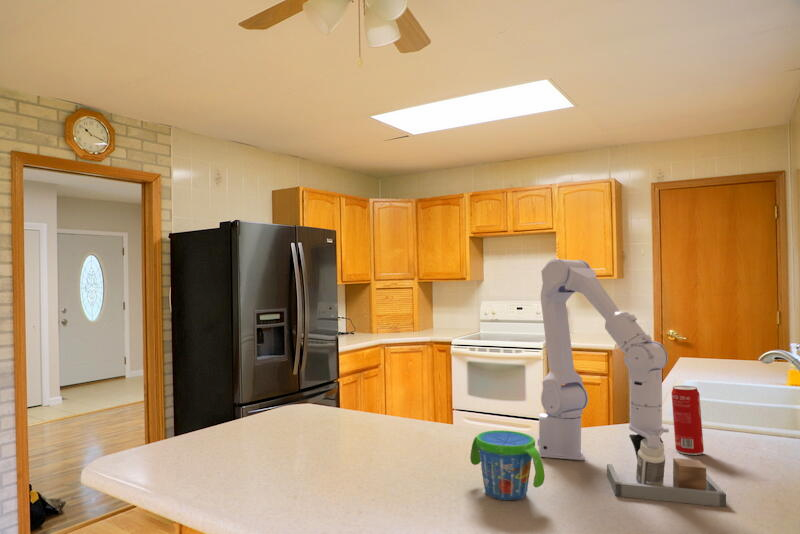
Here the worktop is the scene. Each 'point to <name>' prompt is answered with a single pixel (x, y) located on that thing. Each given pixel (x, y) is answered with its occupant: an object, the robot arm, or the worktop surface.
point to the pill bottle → (650, 464)
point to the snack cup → (507, 463)
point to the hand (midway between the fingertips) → (645, 473)
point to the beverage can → (687, 420)
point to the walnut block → (689, 474)
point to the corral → (668, 491)
